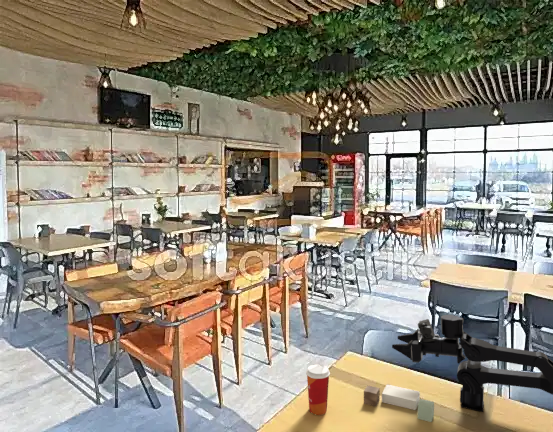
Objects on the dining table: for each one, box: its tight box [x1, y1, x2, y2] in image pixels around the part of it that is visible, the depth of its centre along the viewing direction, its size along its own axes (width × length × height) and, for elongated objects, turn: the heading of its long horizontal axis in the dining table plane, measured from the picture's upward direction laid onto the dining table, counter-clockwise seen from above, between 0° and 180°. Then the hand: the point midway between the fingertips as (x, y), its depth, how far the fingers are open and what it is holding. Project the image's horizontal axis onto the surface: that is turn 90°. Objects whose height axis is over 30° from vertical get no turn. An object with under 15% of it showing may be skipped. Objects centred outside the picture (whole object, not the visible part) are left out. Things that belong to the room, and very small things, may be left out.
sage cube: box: [417, 398, 435, 423], centre depth 135 cm, size 4×4×4 cm
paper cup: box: [305, 364, 331, 416], centre depth 139 cm, size 8×8×14 cm
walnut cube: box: [363, 385, 381, 407], centre depth 144 cm, size 4×4×4 cm
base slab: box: [381, 384, 421, 411], centre depth 145 cm, size 11×7×3 cm, turn 62°
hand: (395, 341), depth 152 cm, fingers open, 9 cm apart
